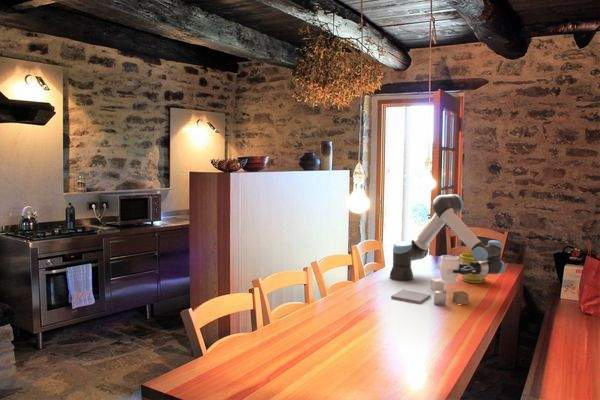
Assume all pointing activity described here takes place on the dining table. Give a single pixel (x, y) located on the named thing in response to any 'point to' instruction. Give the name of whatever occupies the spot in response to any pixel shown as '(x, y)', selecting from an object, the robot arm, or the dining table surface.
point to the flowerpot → (471, 278)
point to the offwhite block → (437, 284)
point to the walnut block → (460, 297)
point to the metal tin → (440, 298)
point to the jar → (449, 263)
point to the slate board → (411, 296)
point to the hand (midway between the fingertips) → (442, 268)
